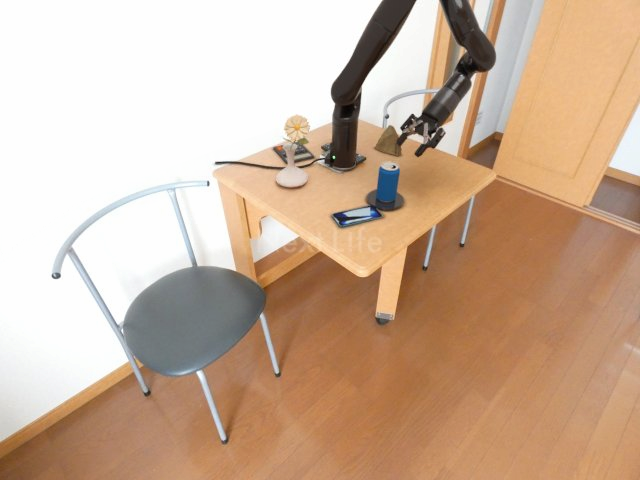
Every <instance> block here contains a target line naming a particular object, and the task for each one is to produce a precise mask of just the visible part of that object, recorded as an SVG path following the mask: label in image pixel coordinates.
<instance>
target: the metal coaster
mask: <svg viewBox="0 0 640 480" xmlns="http://www.w3.org/2000/svg"><path fill="white" fill-rule="evenodd" d="M376 193H377V188H376V189H374V190H371V191H370V192H369V193H367V195H366V202H367V204H368V206H369V205H371V206H372V207H374V208H376V209H378V210H379V211H380V212H393V211H397V210H399V209H400V208H402V207H403V204H404V197H403V195H402V194H401V193H400V192H398V191H397V194H396V199H395V200H393V201H391V202H382V201H380V200H379V199H378V198H377V197H376Z"/></svg>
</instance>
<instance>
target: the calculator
mask: <svg viewBox="0 0 640 480" xmlns="http://www.w3.org/2000/svg"><path fill="white" fill-rule="evenodd" d="M294 144H296V145H297V146H298V147H297V149H296V150H295V153H294V164H295V163H299V162H303V161H307V160H312V159H314V158H315V156H314V154H313V153H312V152H311V151H310V150H308V149H307V147H306V146H304V145H301V144H299V142H298V141H295V143H294ZM283 145H284V144H281V145H277V146H273V150H274V152H275V153H276V154H277V155H278V156H279V157H280V158H281V159H282V160H283V161H284V163H285V164H286V165H288V159H287V154H286V151H285V150H284V149H283Z"/></svg>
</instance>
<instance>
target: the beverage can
mask: <svg viewBox="0 0 640 480" xmlns="http://www.w3.org/2000/svg"><path fill="white" fill-rule="evenodd" d="M400 174H401V168H400V164H399V163H397V162H396V161H395V162H394V161H384V162H382V163H381V164H380V166H379V168H378V176H377V183H376V184H377V185H376V189H377V193H376V197H377V198H378V199H379V200H380V201H382V202H391V201H393V200H395V199H396V194H397V192H398V187H399V181H400Z"/></svg>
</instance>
